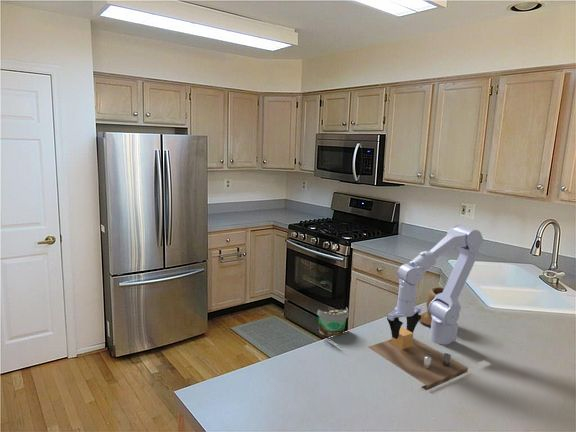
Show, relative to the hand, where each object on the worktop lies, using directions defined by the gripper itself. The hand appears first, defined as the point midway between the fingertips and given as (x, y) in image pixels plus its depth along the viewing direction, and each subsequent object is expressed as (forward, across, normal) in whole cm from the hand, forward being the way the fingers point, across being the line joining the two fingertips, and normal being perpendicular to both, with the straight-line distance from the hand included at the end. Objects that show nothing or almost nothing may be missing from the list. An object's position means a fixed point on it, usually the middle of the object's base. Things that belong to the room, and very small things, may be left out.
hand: (402, 335), depth 137 cm
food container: (+6, +16, -18) cm, 25 cm away
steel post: (+5, +4, +14) cm, 15 cm away
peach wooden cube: (+4, 0, 0) cm, 4 cm away
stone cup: (+5, -30, -8) cm, 32 cm away
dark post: (+5, -3, +16) cm, 17 cm away
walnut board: (+5, +2, +8) cm, 10 cm away
